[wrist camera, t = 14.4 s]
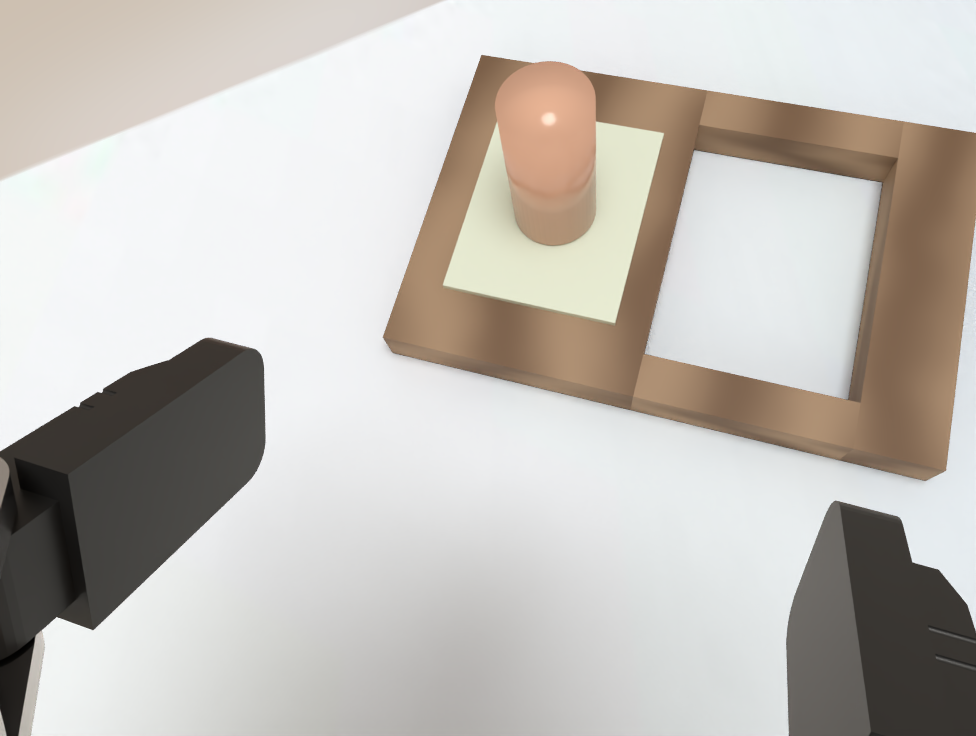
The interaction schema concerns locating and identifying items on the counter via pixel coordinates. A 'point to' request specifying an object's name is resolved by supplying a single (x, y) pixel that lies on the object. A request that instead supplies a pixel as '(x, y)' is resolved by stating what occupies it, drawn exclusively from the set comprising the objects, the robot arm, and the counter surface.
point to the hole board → (643, 255)
